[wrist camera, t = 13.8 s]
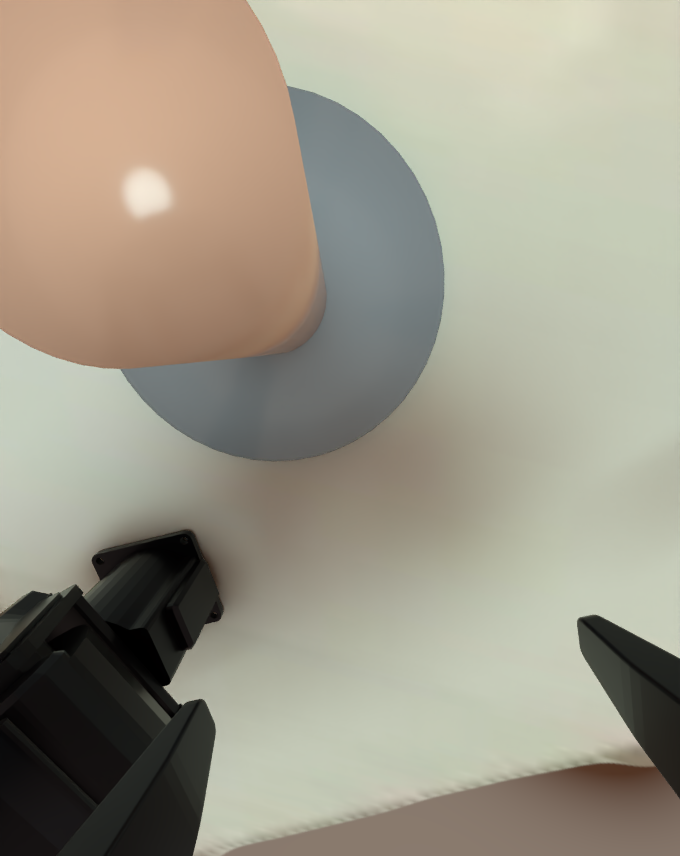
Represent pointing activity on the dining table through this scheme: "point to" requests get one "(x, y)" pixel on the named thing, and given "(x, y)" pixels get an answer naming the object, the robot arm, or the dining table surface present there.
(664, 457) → the dining table surface
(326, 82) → the dining table surface
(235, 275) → the peach cylinder
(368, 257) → the plate
